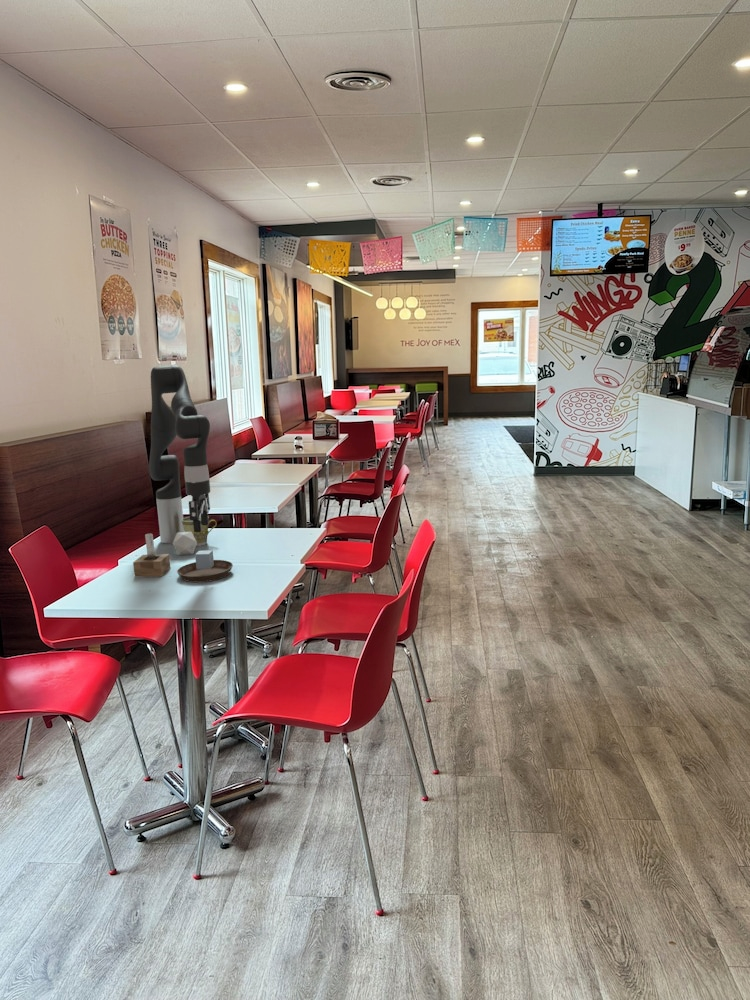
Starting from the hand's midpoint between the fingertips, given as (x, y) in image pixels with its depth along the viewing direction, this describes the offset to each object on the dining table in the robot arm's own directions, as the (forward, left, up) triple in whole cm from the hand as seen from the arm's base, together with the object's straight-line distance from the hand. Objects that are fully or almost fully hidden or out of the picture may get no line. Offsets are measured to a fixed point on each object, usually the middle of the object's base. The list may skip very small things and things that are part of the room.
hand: (201, 528), depth 240 cm
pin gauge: (-4, -19, -15) cm, 24 cm away
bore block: (-4, -19, -16) cm, 25 cm away
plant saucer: (0, 0, -16) cm, 16 cm away
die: (-27, -15, -16) cm, 35 cm away
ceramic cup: (-40, -13, -16) cm, 45 cm away
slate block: (0, 0, -13) cm, 13 cm away
